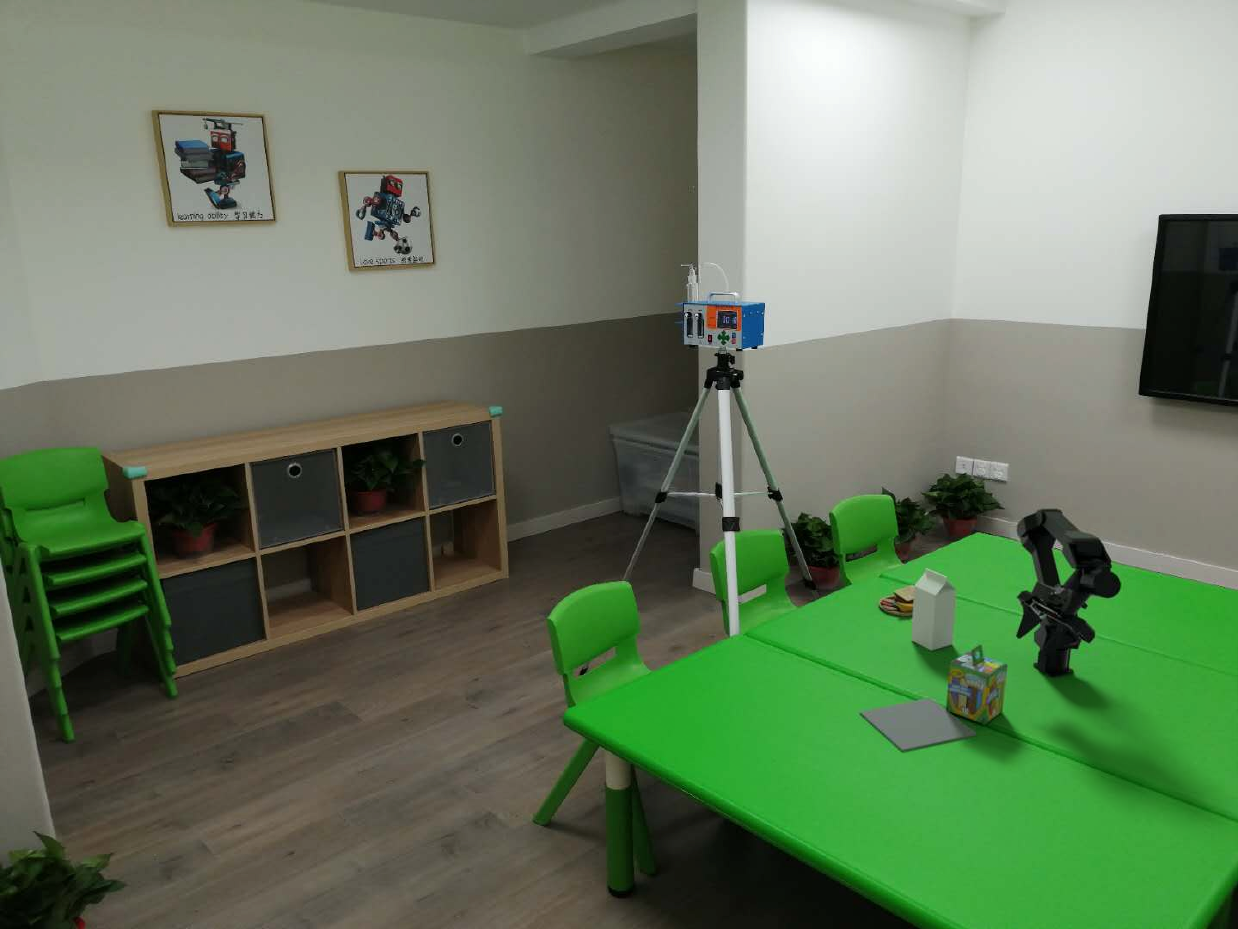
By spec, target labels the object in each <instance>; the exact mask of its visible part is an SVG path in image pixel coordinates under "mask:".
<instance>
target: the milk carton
mask: <svg viewBox="0 0 1238 929" xmlns="http://www.w3.org/2000/svg"><path fill="white" fill-rule="evenodd" d="M914 586H915V587H914V603H913V616H912V622H911V639H910V640H911V641H912V642H914V643H916V644H918V645H920V646H921V647H924V648H925V649H927V650H929V651H932V652H933V651H935V650H938V649H941V648H945V647H948V646H951V645H953V643H954V642H953V641H954V640H953V639H954V630H955V628H954V627H955V626H954V625H955V616H956V613H955V612H956V602H957V599H956V598H957V589H956V588H955V587H954V586H953V585H952V584H951V583H950V582H949V581H948V576H945V575H943V574H941V573H938V572H936V571H934V570H931V569H929V568H925V572H924V573H923V574H922V576H921V577H920V578H919V580H918V581H917V582H916V584H915V585H914Z"/></svg>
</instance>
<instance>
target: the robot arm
mask: <svg viewBox="0 0 1238 929" xmlns="http://www.w3.org/2000/svg"><path fill="white" fill-rule="evenodd" d="M1016 534H1017V537H1018V538H1019V540H1020V544H1021V546H1022V547H1023V548H1024V549H1025V550H1026V552H1028V553H1029V554H1030V555H1031V558H1032V563H1033V568H1034V571H1035V576H1036V580H1037V581H1035V584H1034V586H1033V588H1032V590H1031V591H1029V590H1022V591H1020V593H1018V595H1017V596H1016V599H1017V600H1018V601H1019V602H1020V605H1021V607H1022V612H1023V613H1022V617H1021V621H1020V623H1019V626H1018V628H1017V631H1016V632H1017V633H1016V634H1015V637H1016V638H1017V639H1018V640H1020V639H1022V638H1023V637H1025V636H1026V635H1027V634H1029V633H1030V632H1031V631H1032V630H1034V629H1035V628H1036V627H1037V626H1039V627H1038V628H1037V629H1036V630H1035V631H1034V632H1033V642H1034V643H1035V644H1036V645H1037V647H1039V650H1038V653H1037V662H1033V664H1032V666H1033V667H1035V668H1036V669H1038V670H1039V671H1041V672H1043V673H1044V674H1046V675H1048V676H1050V677H1059V676H1063V675H1064V676H1065V675H1068V674H1070V675H1071V674H1073V673H1074V672H1075V670H1074V669H1072V668H1071V667H1070V661H1071V652H1072V650H1079V647H1080V645H1081V643H1082V642H1086V644H1087V643H1088V644H1091V643H1092V641H1093V640H1094V639H1095V638H1096V630H1095V629H1094V628H1093V627H1092V626H1091V625H1090V624H1089V623H1088V621H1087V620H1085V619H1084V618H1082V617H1080V616H1079V615H1078V612H1079V610H1081V609H1083V610H1086V609H1087V608H1088V607H1089V605H1088V604H1087V602H1088V600H1089V599H1090V598H1091V597H1092V596H1093V597H1098V598H1104V599H1111V598H1114V597H1116V596H1117V595H1119V593H1120V590H1121V589H1122V581H1121V580H1120V578H1119V576H1118V575H1117V574H1116V573H1114V572H1113V571H1111V570H1112V568H1113V565H1112V559H1111V557H1110V555H1109V553H1108V552H1107V550H1106V548H1105V545H1104V543H1103V541H1102V540H1101V539H1100V537H1098V536H1096V535H1094V534H1091V533H1088V532H1085V531H1084V532H1083V531H1081V530H1079V528H1077V526H1075V525H1074V523H1072V521H1070V520H1069V519H1068V518H1067V517H1065V515H1064V514H1063V511H1062V510H1061V509H1060V508H1041V509H1040V508H1039V509H1038V510H1036V511H1035V512H1034V513H1031V514H1029V515H1027V516H1024V517H1023V518H1022V519H1021V520H1020V521H1019V522H1018V523H1017V525H1016ZM1056 541H1057V542H1059V544H1060V545H1061V546H1062V548H1061V549H1062V550H1061V554H1062V555H1063V557H1064V558H1065V560H1066V562H1067V563H1068V565H1069V566H1070V568H1071V569H1073V570H1074V571H1073V572H1072V573H1071V575H1070V576H1069V577H1068V578H1067V579H1066V581H1064V583H1063V584H1061V583H1062V582H1061V579H1060V575H1059V572H1058V567H1057V563H1056V559H1055V555H1054V551H1053V548H1054V546H1055V543H1056Z"/></svg>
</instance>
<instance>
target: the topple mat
mask: <svg viewBox="0 0 1238 929" xmlns="http://www.w3.org/2000/svg"><path fill="white" fill-rule="evenodd" d="M859 715H861V716H862V717H863V718H864V719H865V720H866V721H868V722H869V723H870V724H871V725H872V726H873V727H875V729H877V731H878V732H880V733H881V734H882V736H884V737H885V738H886V739H888V740H889V741H890V742H891V743H892V744H893V745H894V746H895V747H896V748H897V749H898V750H900V751H901V752H906V751H911V750H915V749H920V748H925V747H930V746H934V745H939V744H942V743H948V742H951V741H958V740H961V739H966V738H970V737H977V736H978V733H977V732H976V731H974V730H973V729H972V728H970V727H969V726H968V725H967V724H965V723H964V722H963V721H961V720H960V719H959V718H958V717H956V716H954V714H953V713H952V712H949V711H947V710H946V708H945V707H943V706H942V705H940V703H938V702H936V700H934V699H932V698H931V697H927V698H922V699H916V700H912V701H906V702H902V703H896V704H892V705H887V706H882V707H876V708H872V709H867V710H863V711H859Z"/></svg>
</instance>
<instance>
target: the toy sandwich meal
mask: <svg viewBox="0 0 1238 929" xmlns="http://www.w3.org/2000/svg"><path fill="white" fill-rule="evenodd" d="M914 587H915V585H913V584H910V585H908V586H905V587H902V588H900V589H896V590H893V595H887V596H885V597H882V598H880V599H879V600H878V606H879V607H880V609H882V610H883V611H884V612H886V613H888V614H891V615H895V616H900V617H913V603H914Z"/></svg>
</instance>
